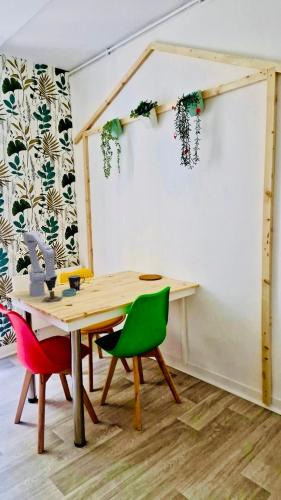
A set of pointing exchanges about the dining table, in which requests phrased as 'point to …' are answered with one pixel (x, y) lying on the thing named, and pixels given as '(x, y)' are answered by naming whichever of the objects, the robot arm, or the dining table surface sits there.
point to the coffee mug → (75, 282)
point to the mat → (55, 301)
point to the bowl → (68, 292)
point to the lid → (52, 297)
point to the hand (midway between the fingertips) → (51, 289)
